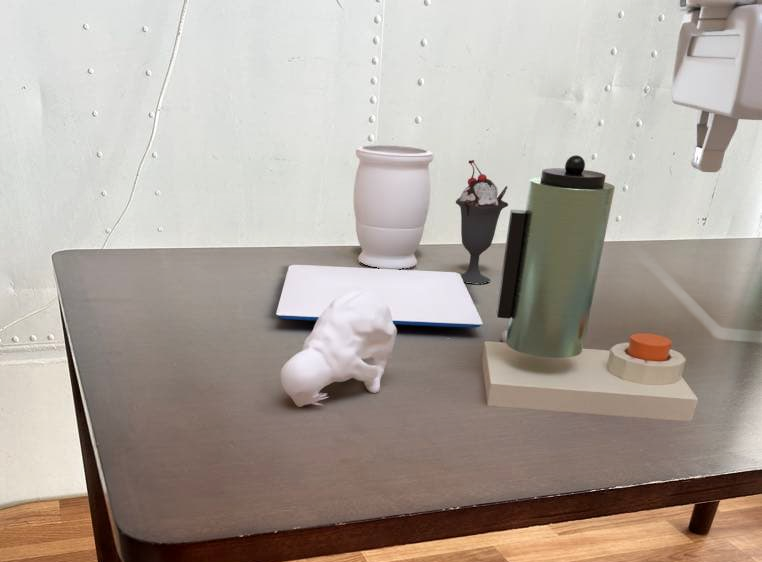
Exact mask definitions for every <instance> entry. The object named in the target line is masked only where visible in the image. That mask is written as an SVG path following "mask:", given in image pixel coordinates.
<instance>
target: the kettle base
mask: <svg viewBox="0 0 762 562" xmlns="http://www.w3.org/2000/svg"><path fill="white" fill-rule="evenodd" d="M483 343H484V344H483V352H482V358H481V359H482V360H481V364H482V372H483V373H482V374H483V381H484V389H485V396H486V404H487V407H497V408H498V407H499V408H508V409H521V410H522V409H524V410H536V411H548V412H559V413H560V412H563V413H574V414H586V415H598V416H599V415H600V416H610V417H611V416H612V417H623V418H637V419H649V420H662V421H674V422H675V421H677V422H687V423H688V422H689V423H692V422H693V419H694V416H695V412H696V408H697V405H698V402H699V398H698V397H697V396H696V394H695V393H694V391H693V390H692V388H691V387H690V385H688V383H687V381H686V380H685V379H684V377H683V373H684V368H685V365H686V361H687V359H686V357H684V355H683V354H682V352H681V353H680V352H679V351H676V350H674V349H671V348H670V351H669V355H668V359H667V361H662V362H657V361H645V360H641V359H637V358H633V357H631V356H629V355H627V352H628V347H629V343H630V342H622V343H617V344H615V345H614V346H612V347H611V348H610V349H609V350H608V349H595V348H583V351H582V352H581V353H580V354H579V355H577V356H574V357H569V358H543V357H536V356H531V355H527V354H523V353H520V352H518V351H515V350H513V349H512V348H510V347H509V346H508V345H507V343H503V342H502V341H501V342H500V341H487V340H486V341H484V342H483Z"/></svg>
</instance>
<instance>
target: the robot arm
mask: <svg viewBox="0 0 762 562" xmlns="http://www.w3.org/2000/svg"><path fill="white" fill-rule="evenodd" d="M677 7H678V10H679V11H681V12H684V15H683V16H682V19H681V22H680V26H679V31H678V37H677V43H676V49H675V50H676V51H675V56H674V57H675V58H674V64H673V72H672V80H671V99H672V103H673V104H674V105H678V106H682V107H685V108H691V109H694V110H696V116H695V121H694V148H693V153H692V158H691V162H690V163H691V166H692V168H694V169H696V170H698V171H700V172H703V173H717V172H719V171H720V170H721V168H722V166H723V161H724V158H725V157H724V156H725V153H726V150H727V149H728V147H729V145H730V142H731V140H732V139H733V137H734V135H735V133H736V131H737V129H738V124H739V120H746V121H762V0H678V6H677Z"/></svg>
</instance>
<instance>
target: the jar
mask: <svg viewBox="0 0 762 562" xmlns="http://www.w3.org/2000/svg"><path fill="white" fill-rule="evenodd" d="M434 153H435V152H433V151H430V150H427V149H424V148H423V149H422V148H417V147H411V146H401V145H383V144H382V145H379V144H378V145H376V144H375V145H363V146H358V147H356V150H355V157H357V159H359V163H358V166H357V169H356V173H355V178H354V184H353V185H354V186H353V213H354V219H355V230H356V231H355V232H356V237H357V240H358V244H359V246H360V248H361V252H360V254H359V256H358V258H357V261H358V260H359V261H358V263H360V262H361V263H363V264H365V265H368V266H372V267H377V268H376V269H378V268H387V269H401V270H403V269H402V268H408V269H410V268H409V267H412V268H414V267H416V266H417V265H418V260H417V258H416V256H415V252H416V251H417V250H418V247H419V245H420V244H421V240H422V238H423V235H424V230H425V225H426V221H427V217H428V214H429V209H430V204H431V203H430V201H431V174H430V169H429V165H430V163H432V162H433V160H434ZM361 263H360V264H361ZM363 264H362V265H363ZM365 265H364V266H365ZM415 265H416V266H415ZM368 266H367V267H368ZM413 266H414V267H413ZM372 267H371V268H372Z"/></svg>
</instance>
